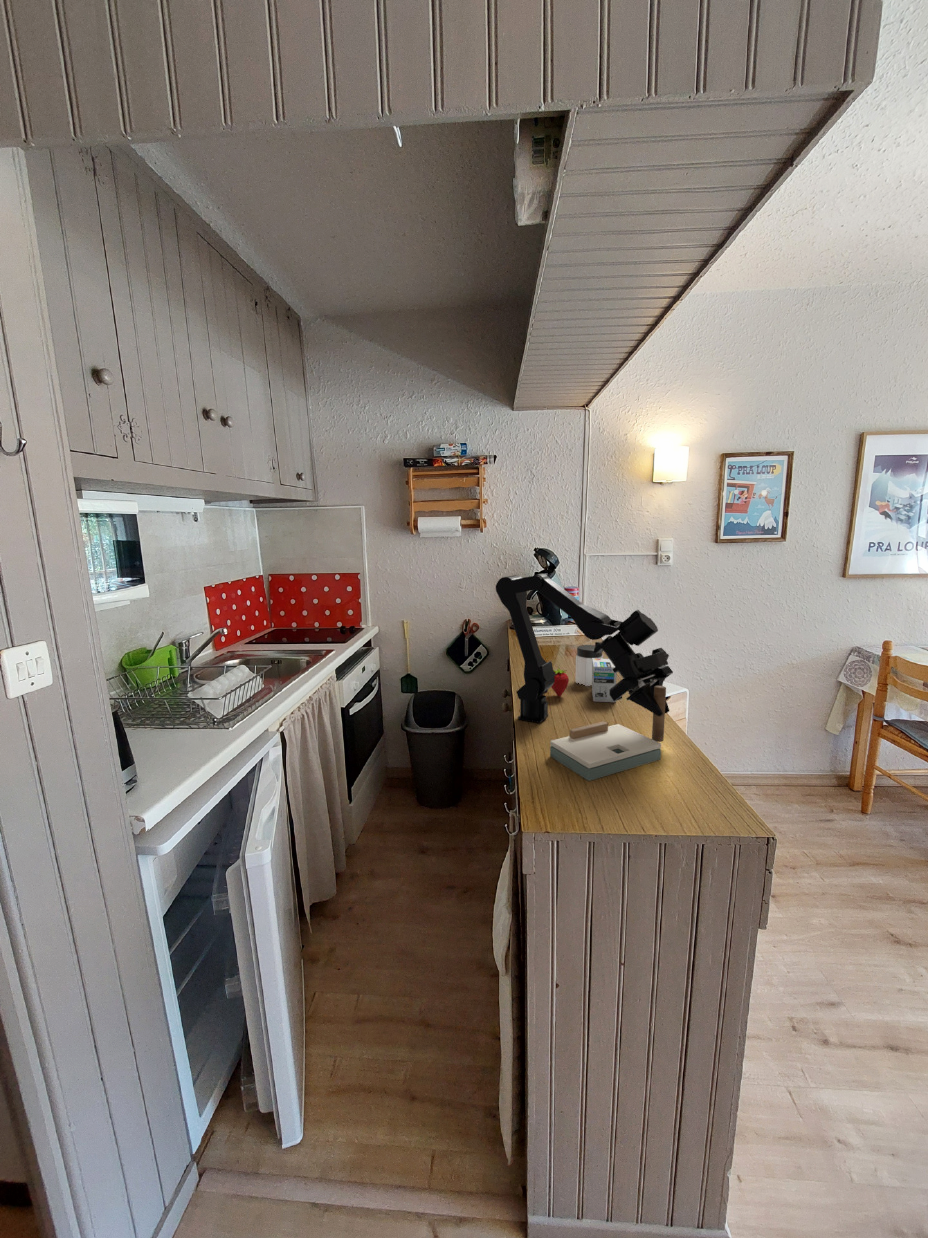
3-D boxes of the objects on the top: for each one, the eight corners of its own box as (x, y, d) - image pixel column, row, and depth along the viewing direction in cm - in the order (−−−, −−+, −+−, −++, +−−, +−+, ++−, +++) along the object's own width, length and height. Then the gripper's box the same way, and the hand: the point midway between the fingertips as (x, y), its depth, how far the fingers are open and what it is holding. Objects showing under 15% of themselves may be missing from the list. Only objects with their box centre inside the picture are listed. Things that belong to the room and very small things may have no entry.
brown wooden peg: (649, 738, 115) (651, 686, 113) (657, 736, 116) (659, 685, 114) (657, 742, 113) (660, 689, 111) (665, 740, 114) (668, 688, 112)
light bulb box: (616, 703, 146) (617, 667, 144) (592, 702, 147) (593, 666, 145) (613, 691, 156) (614, 658, 154) (591, 690, 157) (591, 657, 155)
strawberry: (550, 700, 149) (550, 668, 147) (547, 692, 156) (547, 661, 155) (570, 700, 149) (571, 668, 147) (566, 692, 156) (566, 661, 154)
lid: (550, 745, 112) (550, 733, 111) (618, 727, 120) (618, 716, 120) (588, 768, 100) (589, 755, 100) (660, 747, 109) (661, 735, 108)
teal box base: (550, 756, 112) (550, 746, 112) (617, 738, 121) (618, 729, 120) (588, 781, 101) (588, 770, 100) (660, 759, 109) (660, 749, 109)
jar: (599, 678, 170) (600, 644, 168) (605, 686, 162) (606, 650, 160) (572, 679, 170) (573, 644, 168) (578, 686, 162) (578, 650, 160)
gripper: (622, 644, 108) (668, 705, 101) (667, 632, 120) (710, 686, 113) (591, 672, 115) (632, 731, 109) (636, 658, 127) (675, 710, 120)
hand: (664, 713), depth 113 cm, fingers closed on brown wooden peg, 2 cm apart
